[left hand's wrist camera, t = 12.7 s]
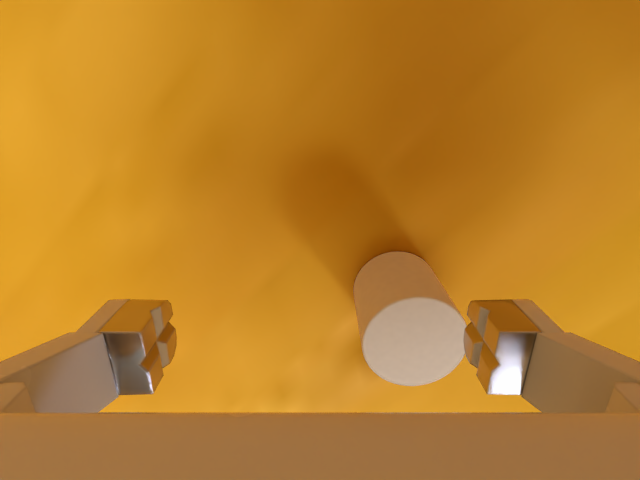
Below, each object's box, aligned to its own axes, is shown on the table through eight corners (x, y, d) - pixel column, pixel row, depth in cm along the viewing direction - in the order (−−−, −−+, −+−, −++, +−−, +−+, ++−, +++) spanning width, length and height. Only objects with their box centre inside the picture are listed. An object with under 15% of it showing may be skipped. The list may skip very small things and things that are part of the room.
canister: (386, 338, 22) (403, 403, 17) (336, 284, 21) (340, 338, 16) (452, 293, 21) (489, 349, 16) (403, 234, 20) (429, 276, 15)
